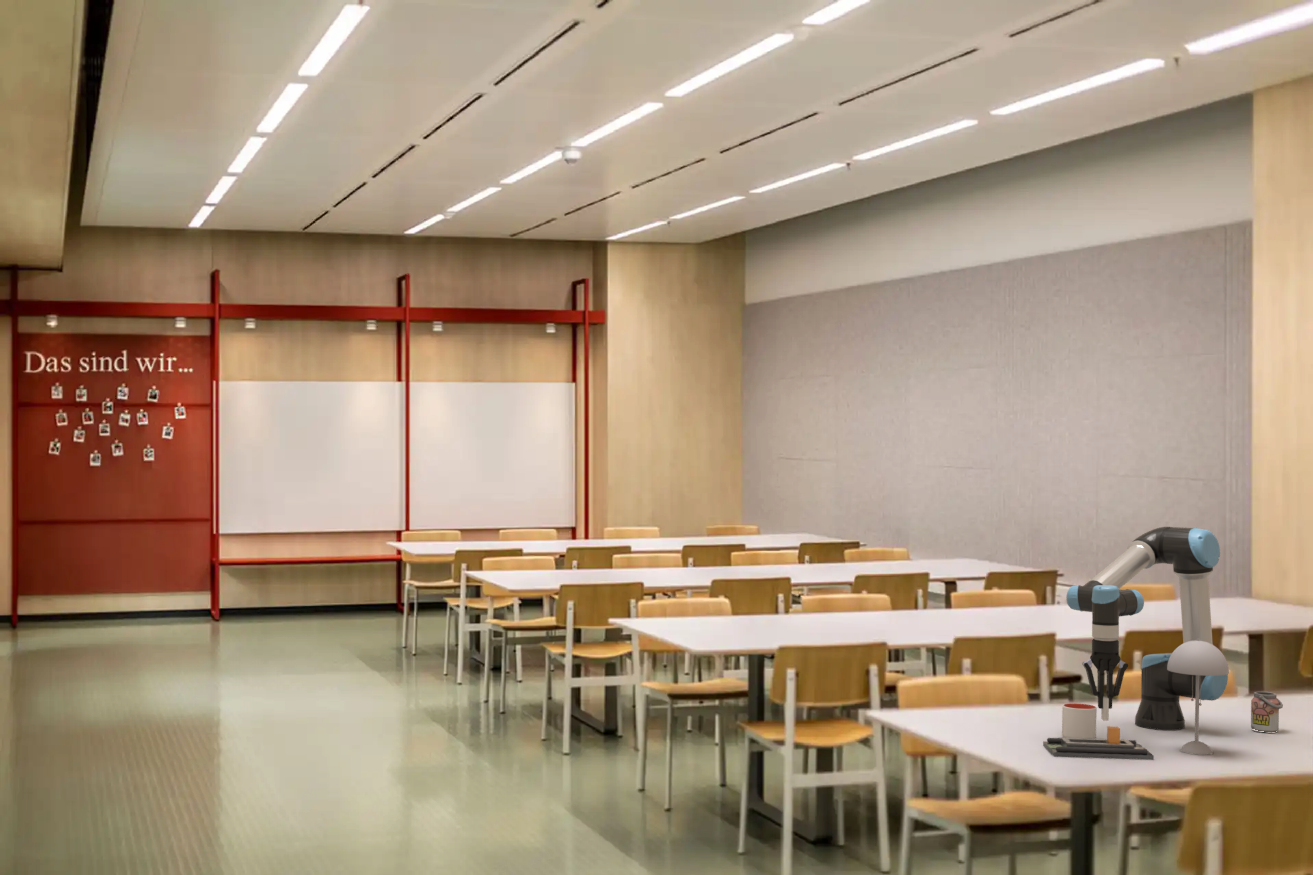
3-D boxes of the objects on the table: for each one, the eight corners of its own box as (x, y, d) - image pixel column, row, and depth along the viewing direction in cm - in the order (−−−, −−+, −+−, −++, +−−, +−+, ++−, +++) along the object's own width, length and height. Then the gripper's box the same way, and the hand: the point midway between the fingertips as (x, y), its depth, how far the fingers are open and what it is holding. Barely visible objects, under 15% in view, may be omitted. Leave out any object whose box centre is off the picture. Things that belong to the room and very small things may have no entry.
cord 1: (1134, 744, 441) (1134, 740, 441) (1136, 745, 440) (1136, 740, 440) (1046, 742, 443) (1046, 737, 443) (1047, 743, 442) (1047, 738, 442)
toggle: (1118, 747, 436) (1119, 726, 436) (1121, 749, 433) (1122, 728, 433) (1104, 747, 436) (1105, 726, 436) (1107, 749, 433) (1107, 728, 433)
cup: (1078, 743, 448) (1078, 710, 448) (1054, 737, 457) (1055, 704, 457) (1103, 740, 453) (1103, 707, 453) (1079, 734, 462) (1080, 702, 462)
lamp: (1220, 760, 427) (1222, 644, 427) (1159, 752, 436) (1161, 639, 436) (1232, 750, 442) (1234, 638, 442) (1173, 743, 451) (1175, 633, 451)
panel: (1139, 748, 442) (1139, 737, 442) (1153, 759, 426) (1153, 748, 426) (1043, 745, 444) (1043, 734, 444) (1053, 756, 428) (1054, 745, 428)
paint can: (1286, 731, 473) (1286, 693, 473) (1276, 735, 466) (1276, 696, 466) (1256, 727, 479) (1257, 690, 479) (1246, 731, 473) (1247, 693, 473)
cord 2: (1146, 753, 428) (1146, 748, 428) (1147, 754, 427) (1147, 749, 427) (1055, 751, 430) (1055, 746, 430) (1056, 752, 429) (1056, 747, 429)
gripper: (1124, 637, 438) (1124, 717, 438) (1079, 636, 439) (1079, 716, 439) (1131, 641, 431) (1131, 722, 431) (1085, 640, 432) (1085, 722, 432)
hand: (1104, 719), depth 435 cm, fingers closed
